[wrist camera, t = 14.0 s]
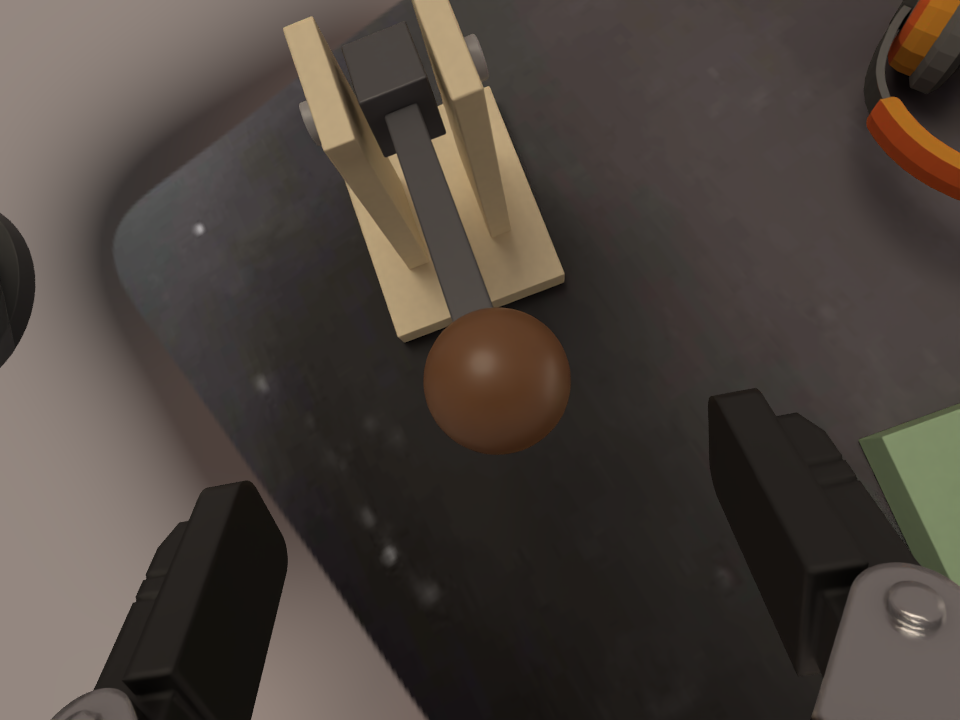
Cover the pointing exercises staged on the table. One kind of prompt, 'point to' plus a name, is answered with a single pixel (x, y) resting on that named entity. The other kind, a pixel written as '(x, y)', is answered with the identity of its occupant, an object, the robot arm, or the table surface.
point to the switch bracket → (465, 163)
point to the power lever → (458, 272)
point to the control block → (923, 485)
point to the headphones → (929, 63)
